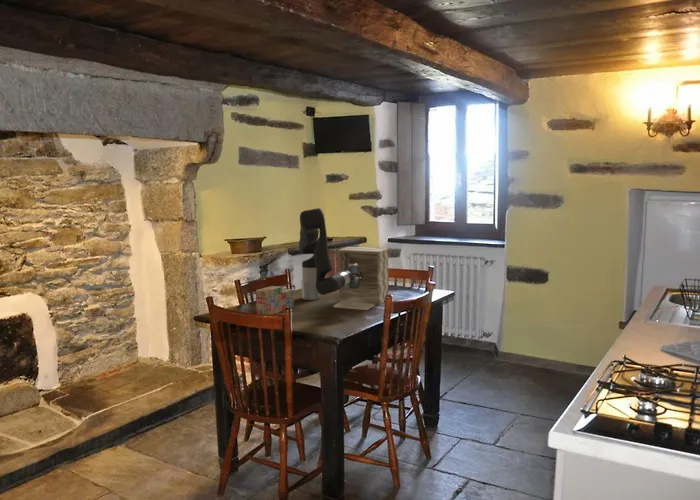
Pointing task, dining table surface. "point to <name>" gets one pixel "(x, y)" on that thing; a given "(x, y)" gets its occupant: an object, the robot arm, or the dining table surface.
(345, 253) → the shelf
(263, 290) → the stack of blocks
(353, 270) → the tin
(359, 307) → the tile
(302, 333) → the dining table surface
